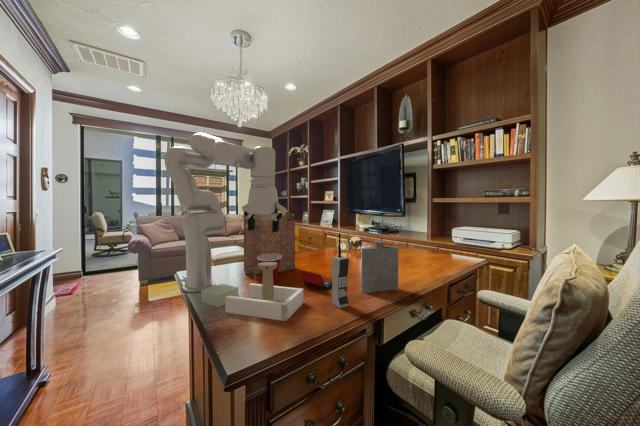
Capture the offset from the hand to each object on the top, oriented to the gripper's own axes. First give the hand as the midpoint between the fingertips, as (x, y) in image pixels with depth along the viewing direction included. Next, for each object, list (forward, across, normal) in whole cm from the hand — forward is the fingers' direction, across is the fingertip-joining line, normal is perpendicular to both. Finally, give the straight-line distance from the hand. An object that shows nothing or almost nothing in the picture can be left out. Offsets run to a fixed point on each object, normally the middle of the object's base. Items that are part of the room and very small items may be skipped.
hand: (263, 231), depth 91 cm
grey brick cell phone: (+25, +28, +5) cm, 38 cm away
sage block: (+26, -15, -4) cm, 31 cm away
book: (+27, -19, +38) cm, 50 cm away
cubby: (+25, +4, -4) cm, 26 cm away
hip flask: (+25, +39, +26) cm, 53 cm away
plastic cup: (+26, -9, +21) cm, 34 cm away
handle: (+26, +5, -4) cm, 26 cm away
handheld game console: (+26, +14, +22) cm, 37 cm away
